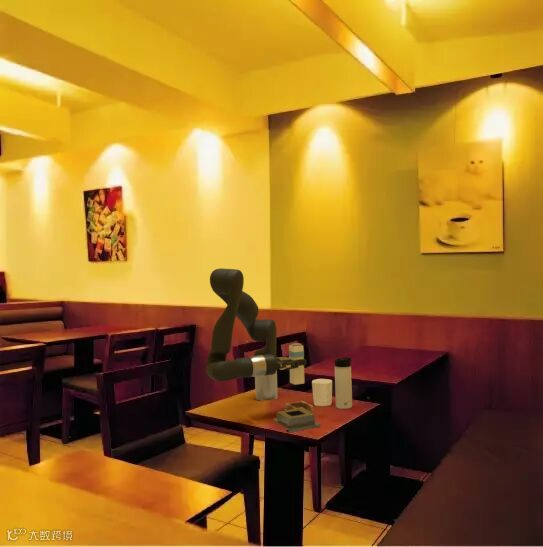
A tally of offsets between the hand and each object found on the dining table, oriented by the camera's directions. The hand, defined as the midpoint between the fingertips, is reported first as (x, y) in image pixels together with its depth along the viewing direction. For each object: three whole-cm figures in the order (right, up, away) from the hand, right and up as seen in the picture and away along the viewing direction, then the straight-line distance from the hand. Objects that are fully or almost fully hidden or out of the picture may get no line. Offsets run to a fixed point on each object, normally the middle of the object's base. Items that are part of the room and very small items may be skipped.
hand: (303, 360), depth 209 cm
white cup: (+8, -19, +9) cm, 23 cm away
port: (-3, -20, -13) cm, 25 cm away
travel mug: (+16, -19, +4) cm, 26 cm away
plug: (-2, -8, -1) cm, 8 cm away
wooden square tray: (-1, -20, +2) cm, 20 cm away
